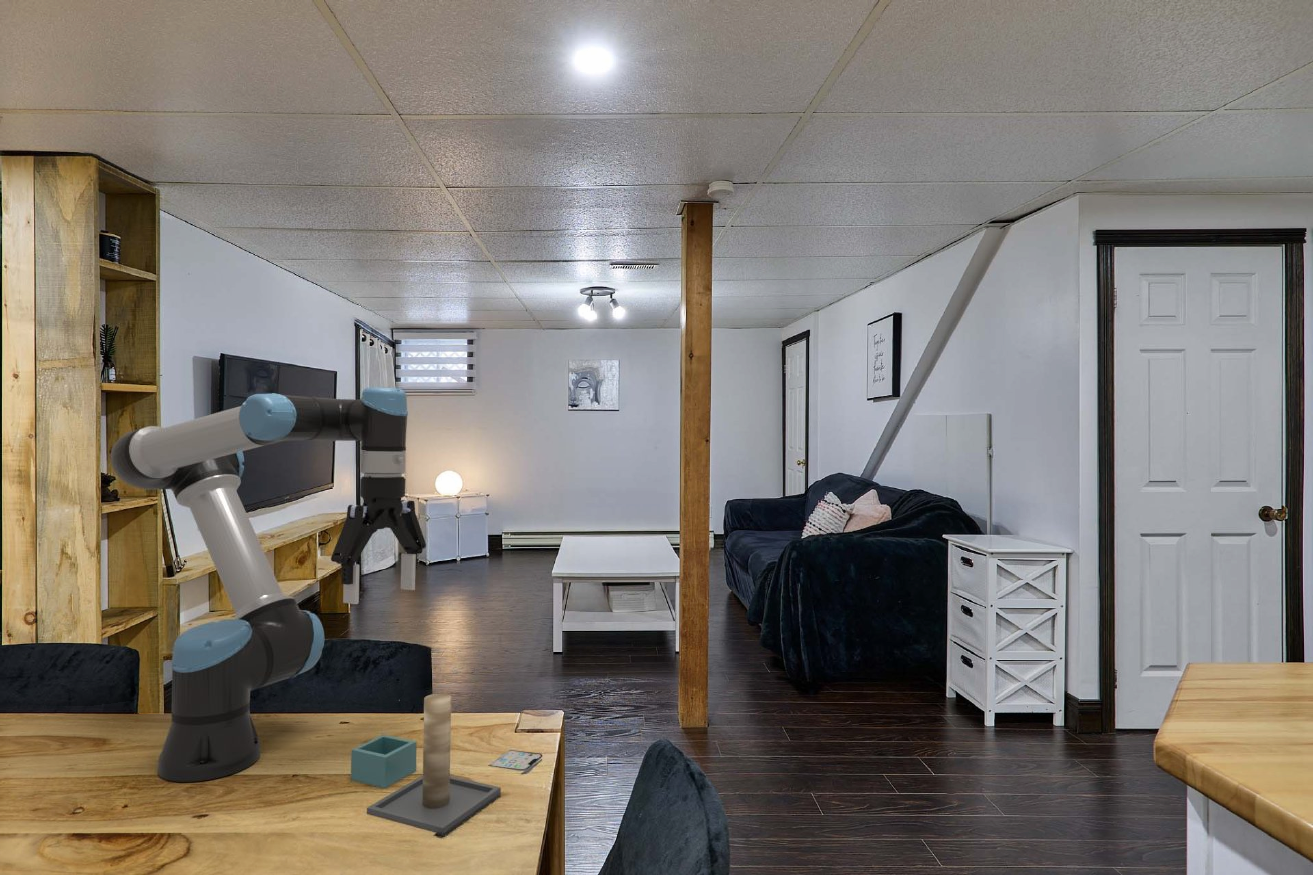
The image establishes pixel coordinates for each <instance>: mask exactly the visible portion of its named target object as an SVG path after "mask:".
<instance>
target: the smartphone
mask: <svg viewBox="0 0 1313 875" xmlns="http://www.w3.org/2000/svg"><path fill="white" fill-rule="evenodd" d="M542 758H543V754H542V753H540V752H539V753H538V752H531V751H524V750H522V751H521V750H514V749H509V750H508V751H506V752H505V753H504V754H502V755H501V756H499V757H498V758H497V759H495V760H494V761H492V762H491V763H490V764H488V765H487V766H488V767H492V768H493V767H494V768H498V769H499V768H500V769H504V770H505V769H506V770H512V771H519V772H522V773H520V775H526V774H528V773H530V772H531V771H532V770H533V769H534V768H535V767H536V766H537V765H538V764H540V763H541V762H542V761H543V759H542Z"/></svg>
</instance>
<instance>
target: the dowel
mask: <svg viewBox="0 0 1313 875" xmlns="http://www.w3.org/2000/svg"><path fill="white" fill-rule="evenodd" d="M423 698H424V699H423V741H422V742H423V743H422V745H423V748H422V751H423V752H422V775H423V799H422V805H423V806H424V807H426V808H440V807H443V806H446V805H447V804H448V803H449V801H450V776H451V735H452V734H451V733H452V732H451V730H452V729H451V728H452V727H451V725H452V696H451V694H448V693H431V694H429V695H427V696H425V697H423Z"/></svg>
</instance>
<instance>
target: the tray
mask: <svg viewBox="0 0 1313 875" xmlns="http://www.w3.org/2000/svg"><path fill="white" fill-rule="evenodd" d="M501 790H502V789H501V786H496V785H492V784H487V783H483V782H479V781H474V780H470V779H466V778H463V777H462V778H461V777H457V776H454V775H450V801H449V803H448V804H447V805H446V806H443V807H440V808H426V807H424V806H423V805H422V799H423V774H422V775H421V776H419V777H417V778H416V779H414V780H412V781H411V782H409V783H406V784H405V785H404V786H402V787H400V788H399V789H397V790H395V791H394V792H391V793H390V794H388V795H386V796H385V797H383V798H381V799H380V800H378V801H376V802H374V803H372V804H371V805H369V806H367V807H366V814H367V815H370V816H373V817H374V816H375V817H379V818H382V819H385V820H389V821H393V822H396V823H400V824H405V825H408V826H412V827H415V828H418V829H419V828H420V829H423V830H426V831H430V832H434V833H433V835H432V836H434V837H438V838H442V839H443V838H445V837H446V836H448V835H449V834H450V833H452V832H453V831H454V830H456V829H457V828H458V827H459V828H460V826H461V825H463V824H464V823H465V822H467V821H468V820H470V819H472V817H474V816H476V815H477V814H478V813H479V812H481V811H482V810H483V809H485V808H486V807H489V805H491V804H492V803H493V802H495V801H496V800H498V799H499V798H501V795H502V794H501V793H502V792H501Z"/></svg>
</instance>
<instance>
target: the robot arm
mask: <svg viewBox="0 0 1313 875" xmlns="http://www.w3.org/2000/svg"><path fill="white" fill-rule="evenodd" d="M407 401H408V400H407V393H406V391H404V390H403V389H401V388H396V387H379V386H375V387H373V386H372V387H365V388H363V389H362V394H361V397H360V398H359V399H355V398H354V399H351V398H350V399H349V398H348V399H346V398H329V397H313V396H301V395H300V396H299V395H290V394H289V395H288V394H280V393H274V392H272V393H271V392H269V393H255V394H252V395H250V396H248V397H247V398H246V400H245V401H244V402H242V405H241V406H237V407H233V408H228V409H226V410H221V411H218V412H215V413H212V414H208V415H204V416H201V417H198V418H194V419H191V420H188V421H184V422H180V423H177V424H173V425H169V426H167V427H162V426H157V425H149V426H145V427H142V428H138V429H135V430H131V431H129V432H126V433H125V434H123V435H121V436H120V438H118V439H117V440H116V441H115V443H114V444H113V446H112V449H111V452H110V466H111V467H112V470H113V472H114V473H115V475H116V477H118V478H119V480H121V481H123V482H124V483H125V484H127V485H129V486H131V487H134V488H137V489H141V490H149V491H152V490H154V491H157V490H171V491H172V493H173V495H174V497H175V500H176V502H177V504H178V505H180V506H182V507H186V508H189V510H190V512H191V514H192V516H193V519H194V522H195V524H196V525H197V529H198V530H199V532H200V535H201V538H202V539H203V542H204V544H205V546H206V549H207V551H208V553H209V555H210V558H211V561H212V562H213V564H214V567H215V569H216V572H217V574H218V576H219V579H220V581H221V583H222V585H223V589H224V591H225V593H226V595H227V597H228V600H229V602H230V604H231V607H232V609H233V612H234V613H235V615H234V618H232V619H221V620H219V621H209V622H206V623H201V624H199V625H197V626H194V627H191V628H189V629H186V630H185V631H184V632H182V633H181V634H179V635H178V637H177V638H176V640H175V641H174V644H173V649H172V650H173V651H172V658H171V661H170V666H171V669H172V671H171V672H172V674H171V675H172V676H171V721H170V722H171V723H170V724H171V725H170V727H169V730H168V732H167V736H166V738H165V741H164V744H163V747H162V750H161V753H160V754H159V757H158V761H157V762H158V763H157V764H158V765H157V774H158V775H159V777H160V778H161V779H164V780H166V781H171V782H178V783H179V782H180V783H182V782H183V783H187V782H188V783H191V782H203V781H207V780H208V781H209V780H215V779H218V778H222V777H227V776H229V775H234V774H236V773H238V772H241V771H243V770H245V769H247V768H249V767H250V766H252V765H254V764H255V763H256V762H257V761H258V760H259V759H260V756H261V742H260V741H261V740H260V739H259V737H258V733H257V730H256V727H255V725H254V721H253V718H252V716H251V713H250V712H251V711H250V705H251V704H250V700H251V697H250V696H251V691H254V690H257V689H260V688H264V687H267V686H268V685H272V684H275V683H278V682H281V681H283V680H287V679H293V678H295V677H297V676H298V675H301V674H303V673H305V672H307V671H309V670H311V669H312V668H313V667H314V666H315V665H316V664H317V662H318V661H319V660H320V658H321V656H322V653H323V648H324V645H325V631H324V627H323V624H322V622H321V620H320V618H319V617H318V616H317V615H316V614H315V613H312V611H309V610H302V609H301V608H299V605H298V603H297V601H296V599H295V597H294V596H291V595H286V594H284V593H283V591H282V589H281V587H280V585H279V583H278V579H277V577H276V576H275V574H274V571H273V569H272V567H271V565H270V563H269V561H268V558H267V556H266V553H265V552H264V550H263V547H262V545H261V542H260V540H259V539H258V535H257V534H256V532H255V529H254V527H253V525H252V522H251V520H250V518H249V515H248V513H247V511H246V510H245V507H244V505H243V503H242V500H241V498H240V496H239V494H238V492H237V490H238V489H239V487H240V485H241V483H242V480H241V477H242V476H243V473H244V469H245V466H244V465H243V463H245V457H244V451H248V450H249V451H250V450H252V449H256V448H260V447H264V446H268V445H272V444H273V445H274V444H276V443H280V442H284V441H287V442H288V441H323V442H338V441H340V442H341V441H342V442H345V441H346V442H347V441H348V442H349V441H351V442H353V441H355V442H356V441H358V442H360V443H361V444H360V468H359V470H360V473H361V474H363V476H361V478H360V480H359V481H360V482H359V484H360V485H359V496H360V497H361V498H362V500H363V501H362V505H360V504H359V505H358V504H349V505H347V510H346V518H345V521H344V524H343V527H342V529H341V531H340V534H339V536H338V539H337V541H336V544H335V546H334V549H333V551H332V553H331V554H332V555H331V557H330V561H331V562H332V563H336V564H338V565H340V567H341V572H340V574H341V578H340V579H341V580H340V581H341V584H342V585H343V589H342V590H343V592H342V594H343V596H342V603H343V604H350V605H358V604H360V603H359V602H360V601H359V600H360V564H356V563H357V561H358V560H359V558H360V556H361V554H362V553H363V551H364V549H365V548H366V546H367V544H368V542H369V541H370V539H371V538H372V536H373V535H374V533H376V532H378V530H383V529H385V528H387V529H390V531H391V532H392V533H393V535H394V536H395V538H396V540H397V541H398V543H399V544H400V546H401V547H402V548H403V550H404V552H402V553H401V554H400V556H401V558H400V590H407V591H415V590H416V571H417V569H418V554H420V555H421V554H422V553H423V550H424V549H425V548H427V544H426V541H425V537H424V535H423V532H422V528H421V526H420V523H419V519H418V516H417V513H416V506H415V505H416V504H415V501H414V500H408V499H407V500H405V499H402V498H404V497H405V496H406V478H405V476H402V474H405V473H406V462H407V461H406V460H407V459H406V458H407V456H406V455H407V454H406V453H407V452H406V451H407V446H406V443H407V429H408V428H407V425H408V415H409V412H408V402H407Z"/></svg>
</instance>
